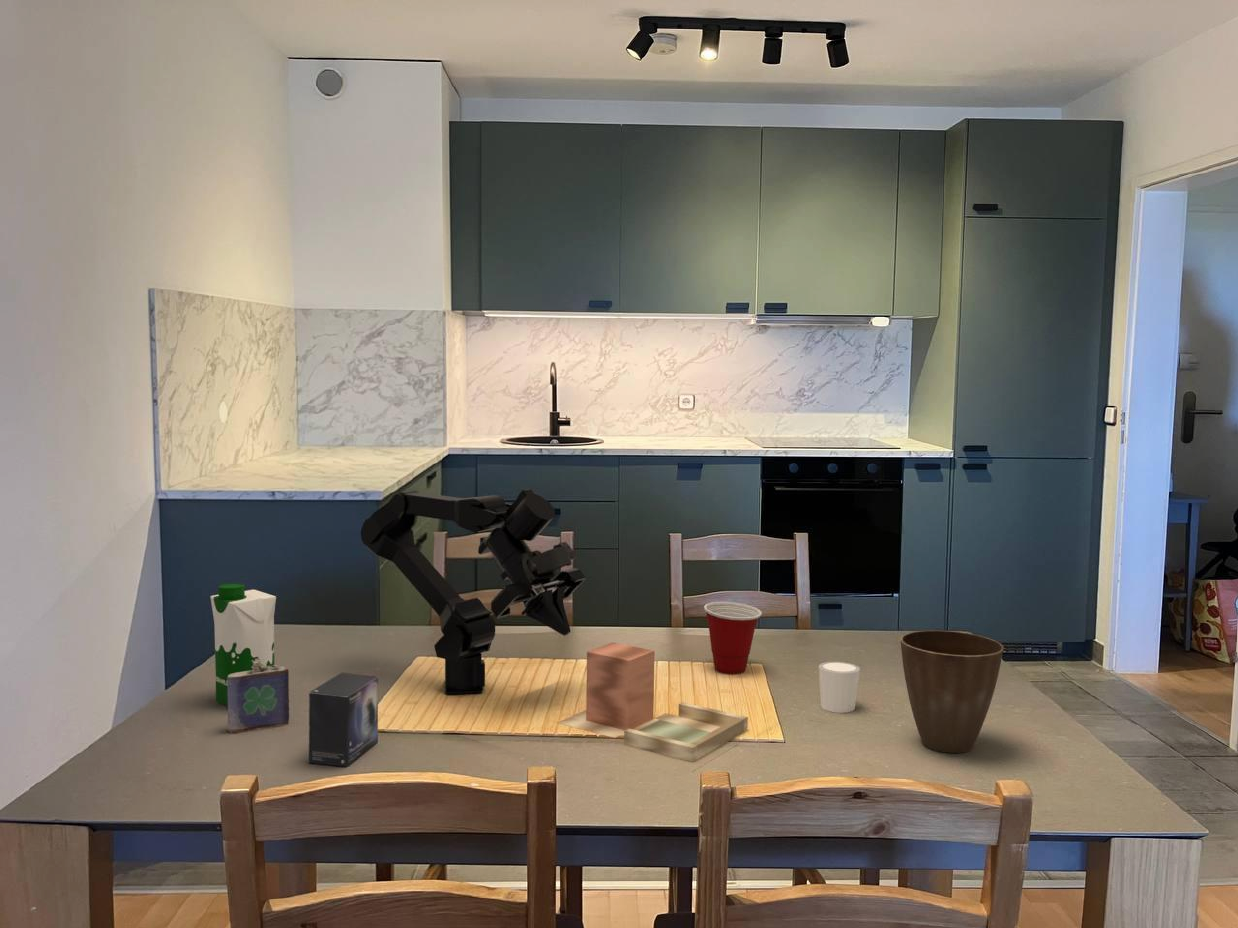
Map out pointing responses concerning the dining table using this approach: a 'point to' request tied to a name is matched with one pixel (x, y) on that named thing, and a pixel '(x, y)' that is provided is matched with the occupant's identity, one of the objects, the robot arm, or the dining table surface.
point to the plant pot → (950, 685)
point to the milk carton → (241, 632)
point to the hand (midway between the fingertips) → (567, 633)
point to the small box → (343, 719)
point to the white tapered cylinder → (838, 686)
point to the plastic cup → (731, 634)
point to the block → (620, 686)
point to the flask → (258, 698)
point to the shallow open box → (674, 731)
